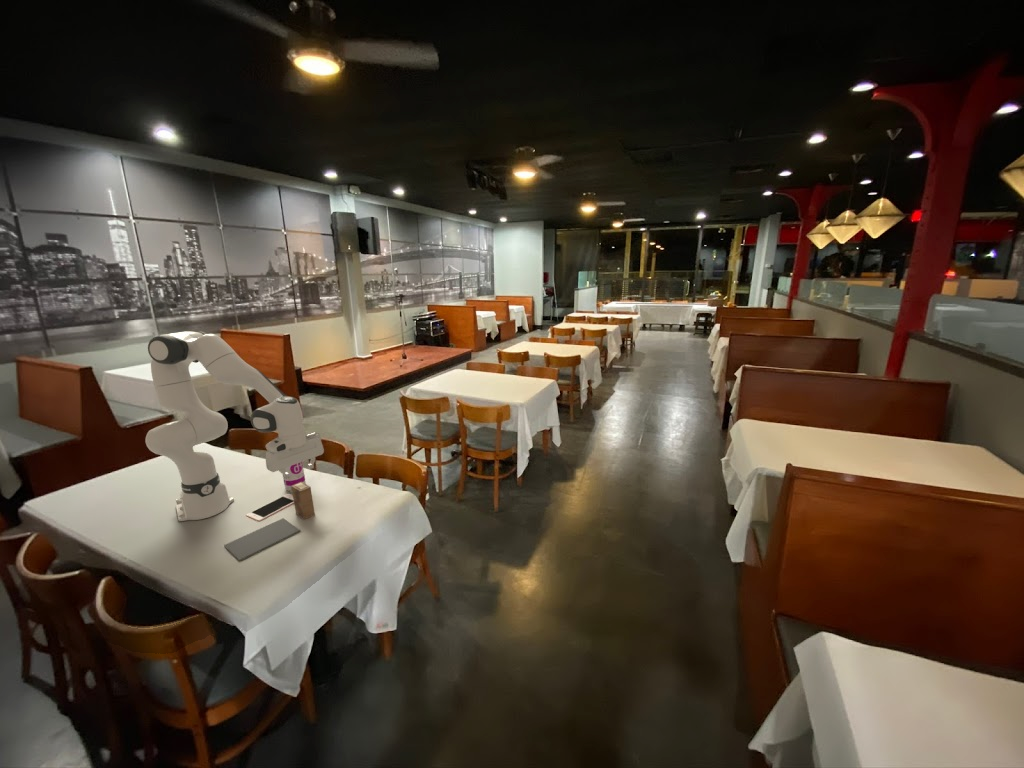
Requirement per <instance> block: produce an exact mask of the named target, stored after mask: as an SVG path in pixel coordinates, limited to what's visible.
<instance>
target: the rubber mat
mask: <svg viewBox="0 0 1024 768" xmlns="http://www.w3.org/2000/svg"><path fill="white" fill-rule="evenodd" d="M300 532H301V529H300V528H298V527H296V526H295V525H293V524H292V523H291V522H289V521H288V520H287V519H285V518H284V517H283V518H280V519H279V520H276V521H274V522H272V523H270V524H267V525H265V526H263V527H260V528H259V529H256V530H254V531H252V532H250V533H248V534H245V535H243V536H240V537H238V538H236V539H234V540H232V541H229V542H228V543H226V544H224V545H223V546H224V548H226V550H227V549H228V550H229V551H228V550H227V551H228V552H229V553H231V555H232V556H234V557H235V558H236V560H238V561H239V562H241V561H244V560H247V558H249V557H251V556H253V555H256V554H257V553H260V552H262V551H264V550H266V549H267V548H270V547H272V546H274V545H276V544H278V543H280V542H282V541H284V540H286V539H288V538H290V537H292V536H294V535H296V534H298V533H300Z"/></svg>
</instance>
